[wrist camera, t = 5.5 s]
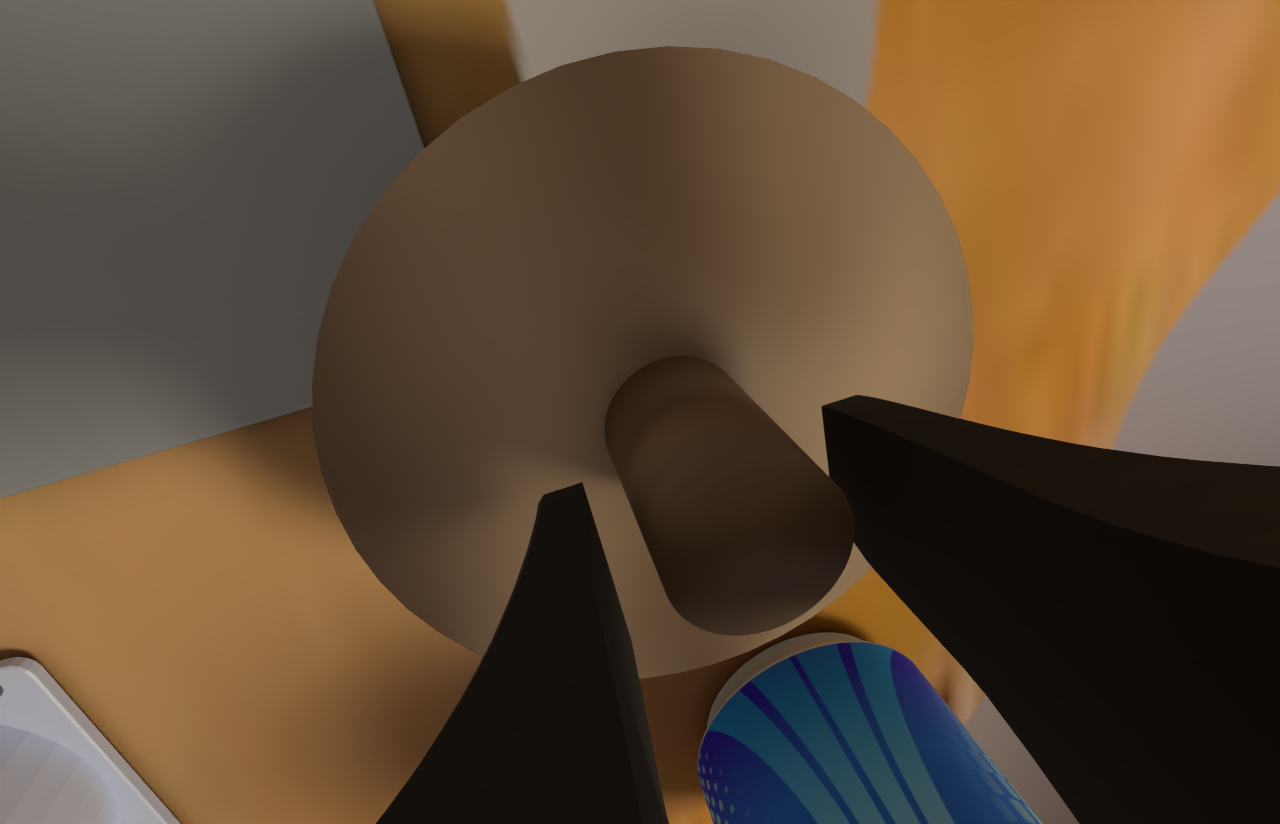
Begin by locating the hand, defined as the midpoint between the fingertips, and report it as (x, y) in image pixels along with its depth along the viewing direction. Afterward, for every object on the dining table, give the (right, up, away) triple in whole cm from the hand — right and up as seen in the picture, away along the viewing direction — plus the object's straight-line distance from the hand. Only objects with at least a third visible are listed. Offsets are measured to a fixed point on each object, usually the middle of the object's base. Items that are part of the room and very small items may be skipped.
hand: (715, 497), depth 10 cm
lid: (-1, +1, +2) cm, 3 cm away
